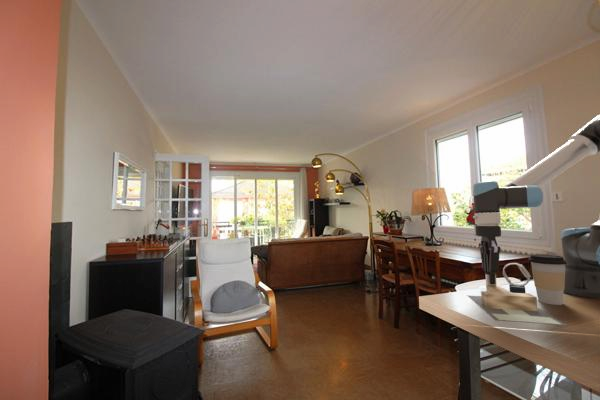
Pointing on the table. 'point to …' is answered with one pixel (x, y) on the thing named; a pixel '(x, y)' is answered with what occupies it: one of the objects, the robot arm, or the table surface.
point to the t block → (508, 299)
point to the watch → (517, 287)
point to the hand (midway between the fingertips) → (491, 292)
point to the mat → (518, 314)
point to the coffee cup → (548, 277)
